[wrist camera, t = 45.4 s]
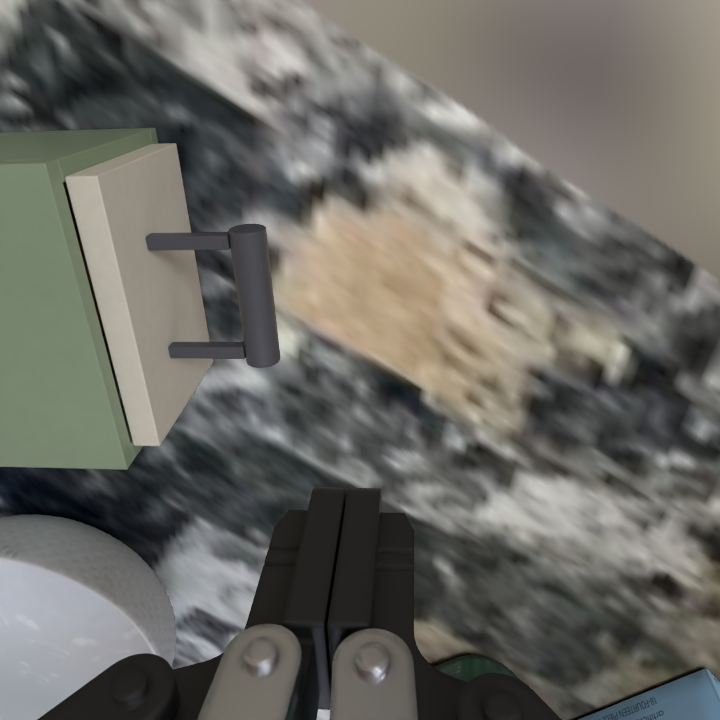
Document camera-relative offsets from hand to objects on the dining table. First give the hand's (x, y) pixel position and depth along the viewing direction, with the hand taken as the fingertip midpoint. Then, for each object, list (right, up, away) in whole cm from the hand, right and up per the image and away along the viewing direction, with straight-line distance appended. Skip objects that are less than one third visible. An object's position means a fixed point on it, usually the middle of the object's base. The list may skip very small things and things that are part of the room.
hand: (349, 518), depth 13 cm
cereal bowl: (-20, -11, +30) cm, 37 cm away
